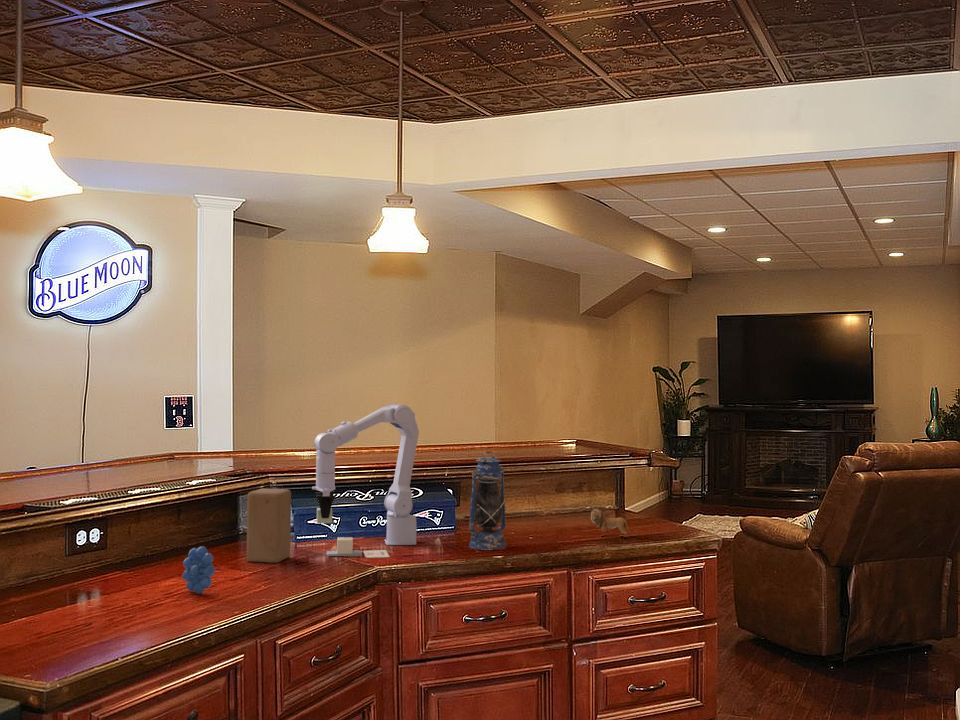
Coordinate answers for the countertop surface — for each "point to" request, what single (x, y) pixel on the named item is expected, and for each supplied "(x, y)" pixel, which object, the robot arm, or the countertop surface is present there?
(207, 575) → the grapes
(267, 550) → the wooden block
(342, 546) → the brick
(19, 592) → the countertop surface
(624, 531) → the lion figurine
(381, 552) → the page
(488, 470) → the lantern
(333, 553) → the base brick
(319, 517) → the pale green cube
